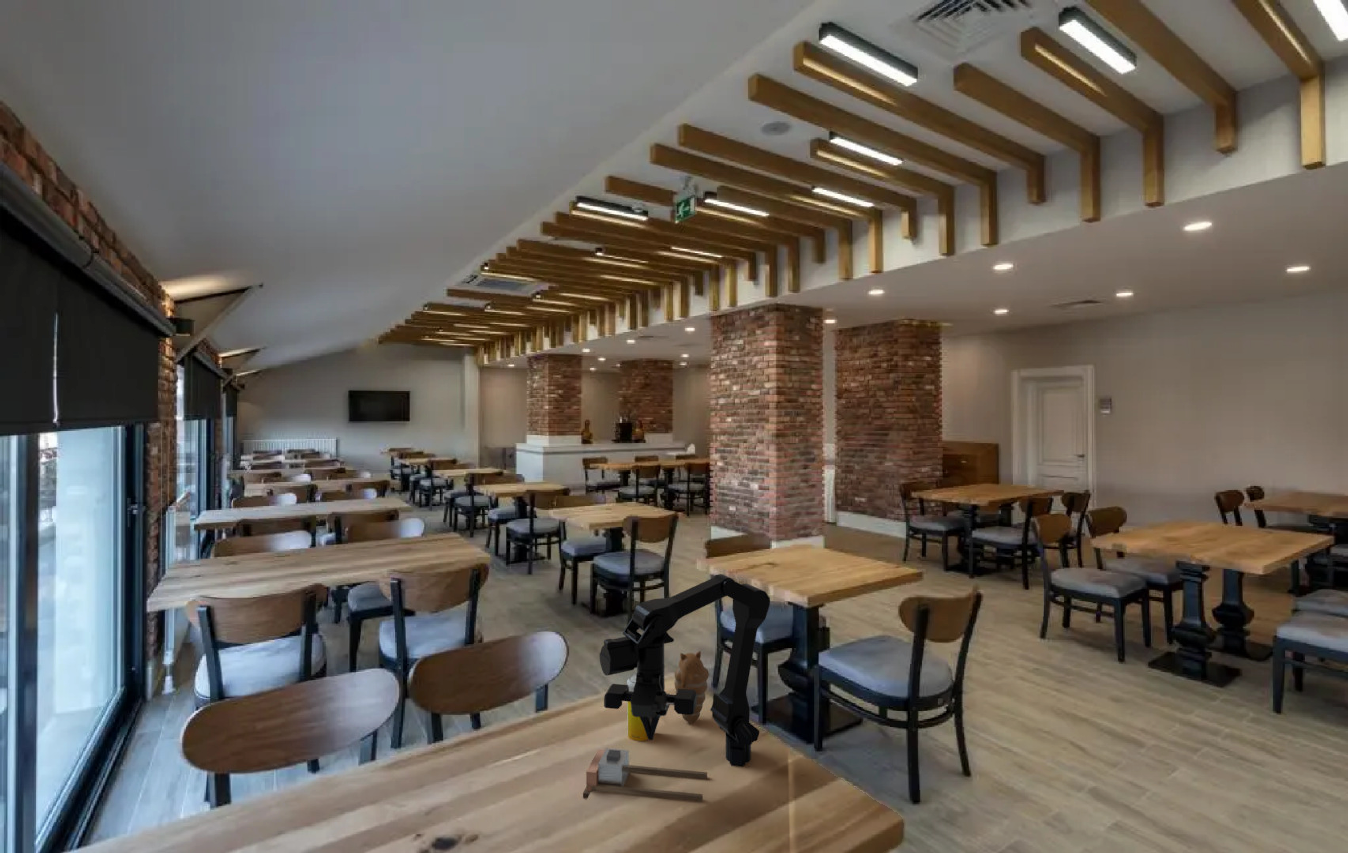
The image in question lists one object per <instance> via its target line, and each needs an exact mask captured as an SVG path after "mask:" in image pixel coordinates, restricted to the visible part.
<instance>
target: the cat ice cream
mask: <svg viewBox="0 0 1348 853" xmlns="http://www.w3.org/2000/svg"><path fill="white" fill-rule="evenodd" d="M679 655H680V656H679V657H680V659H679V662H678V667H677V668H676V669H675V672H674V689H675V695H676V694H677V691H678V689H690V690H695V692H696V693H697V704H696V707H695V711H694V714H692V715H685V714H681V716H682V719H683V720H684V721H686V723H687V722H688V723H693V722H696V721H697V720H698V719H699V718H700V716H701V712H702V709H703V706H704V702H705V700H706V692H707V689H708V682H707V680H708V679H709V677H710V672H709V670H708V669H707V668H706V667H705V666H704V663H703V662H702V660H701V655H702V652H701V650H699V651H697V652H696V653H693V652H688V653H682V652H680V654H679Z"/></svg>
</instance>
